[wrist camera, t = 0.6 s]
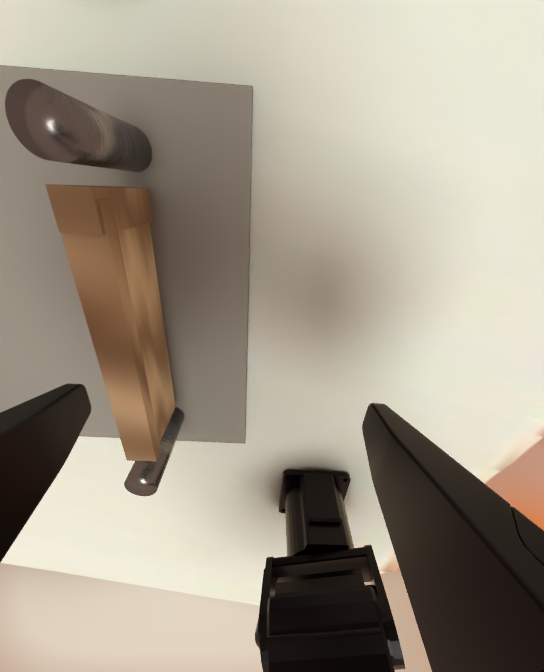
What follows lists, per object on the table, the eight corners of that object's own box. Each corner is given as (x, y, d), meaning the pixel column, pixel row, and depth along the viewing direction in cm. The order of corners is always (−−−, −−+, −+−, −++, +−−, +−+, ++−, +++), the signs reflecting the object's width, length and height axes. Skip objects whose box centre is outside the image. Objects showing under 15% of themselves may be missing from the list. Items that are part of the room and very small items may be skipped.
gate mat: (245, 439, 24) (244, 443, 24) (-7, 428, 24) (-11, 432, 23) (252, 88, 13) (252, 85, 12) (-234, 49, 12) (-249, 44, 12)
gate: (179, 407, 21) (155, 464, 17) (156, 405, 21) (125, 463, 17) (150, 188, 14) (94, 187, 10) (115, 186, 14) (42, 183, 9)
